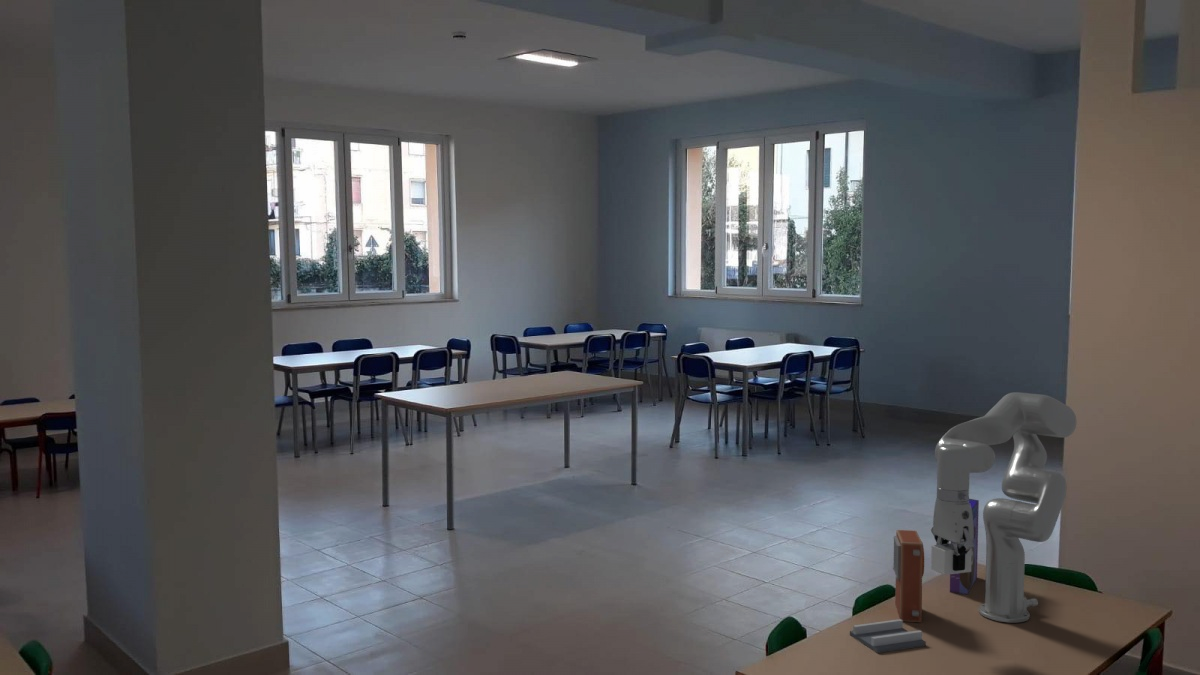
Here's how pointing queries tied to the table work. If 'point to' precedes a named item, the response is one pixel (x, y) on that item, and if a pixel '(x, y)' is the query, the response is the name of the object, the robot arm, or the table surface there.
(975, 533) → the cereal box
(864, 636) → the grey rail base plate
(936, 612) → the table surface
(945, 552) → the block
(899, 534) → the orange upright battery pack
